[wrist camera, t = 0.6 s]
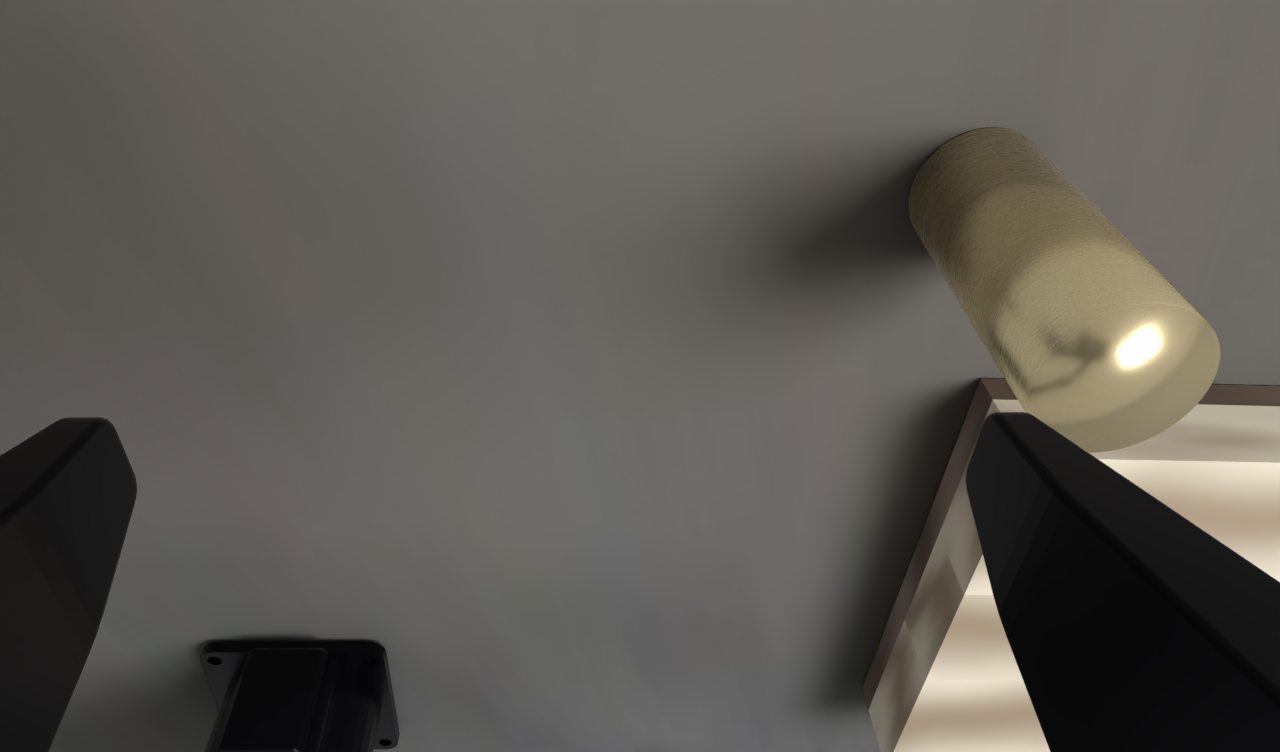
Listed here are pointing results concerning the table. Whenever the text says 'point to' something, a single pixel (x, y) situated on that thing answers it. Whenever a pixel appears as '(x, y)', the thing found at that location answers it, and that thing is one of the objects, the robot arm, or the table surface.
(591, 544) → the table surface
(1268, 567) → the jig plate
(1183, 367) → the brass pin
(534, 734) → the table surface
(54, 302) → the table surface
